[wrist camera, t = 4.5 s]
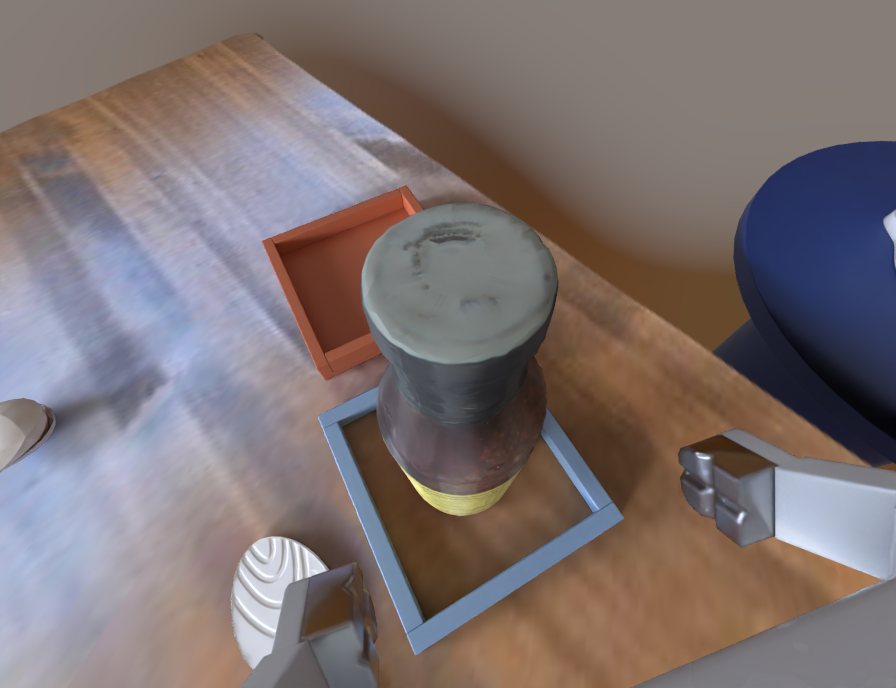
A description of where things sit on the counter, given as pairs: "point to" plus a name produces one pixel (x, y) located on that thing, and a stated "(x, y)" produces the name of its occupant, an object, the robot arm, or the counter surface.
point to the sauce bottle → (460, 348)
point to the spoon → (266, 591)
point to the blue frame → (496, 587)
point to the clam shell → (23, 429)
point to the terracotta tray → (335, 277)
